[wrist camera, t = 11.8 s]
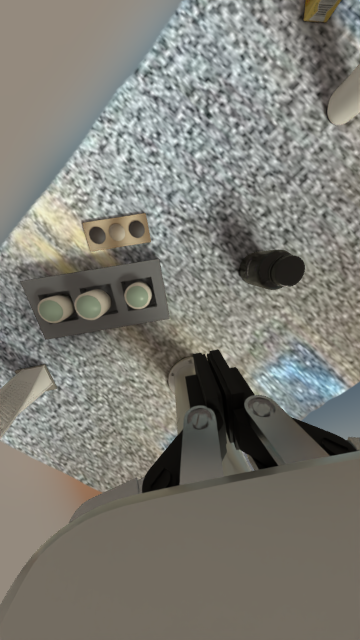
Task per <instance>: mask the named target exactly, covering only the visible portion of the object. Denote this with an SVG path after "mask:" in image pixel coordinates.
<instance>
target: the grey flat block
mask: <svg viewBox="0 0 360 640" xmlns="http://www.w3.org/2000/svg"><path fill="white" fill-rule="evenodd" d="M138 281H143V282H146V283H147V284H149V286H150V287H151V289H152V298H151V300H150V302H149V304H148V305H147V306H146V307H145V308H142V309H134V308H132V307H130V306H129V305H128V304H127V303H126V301H125V297H124V294H125V290H126V289H127V288H128V287H129V286H130V285H132V284H133V283H135V282H138ZM20 282H21V285H22V287H23V289H24V291H25V294H26V296H27V298H28V301H29V303H30V305H31V308H32V310H33V312H34V314H35V317H36V319H37V321H38V324H39V326H40V328H41V330H42V333H43V335H44V337H45V340H46V339H52V338H58V337H64V336H70V335H76V334H82V333H88V332H94V331H100V330H106V329H112V328H118V327H123V326H129V325H135V324H141V323H147V322H153V321H159V320H165V319H169V311H168V305H167V299H166V294H165V288H164V283H163V277H162V272H161V266H160V261H159V259H155V260H149V261H143V262H137V263H131V264H124V265H118V266H112V267H106V268H100V269H93V270H87V271H81V272H75V273H69V274H62V275H56V276H50V277H44V278H38V279H31V280H25V281H20ZM95 289H100V290H103V291H105V292H106V293H107V294H108V295H109V296H110V298H111V307H110V309H109V310H108V311H107V312H105V313H104V314H103V315H102V316H100V317H99V318H98V319H95V320H86V319H84V318H82V317H81V316H79V315H78V313H77V312H75V314H73V315H72V316H70V317H68V318H66V319H64V320H62V321H61V322H58V323H50V322H47V321H45V320H44V319H43V318H42V317H41V316H40V315H39V313H38V304H39V302H40V301H41V300H43V299H45V298H49V297H52V296H56V295H59V294H67V295H69V296H71V298H72V301H73V304H74V303H75V300H76V298H77V297H78V296H79V295H81V294H83V293H86V292H89V291H91V290H95Z"/></svg>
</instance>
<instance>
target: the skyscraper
mask: <svg viewBox="0 0 360 640" xmlns="http://www.w3.org/2000/svg"><path fill="white" fill-rule="evenodd" d="M15 373H16V374H17V375H15V376H14V377H13V378H12V379H11V380H10V381H9V382H7V383H6V384H5V385H4V386H3V387H2V388H1V389H0V438H1V437H2V436H3V435H4V433H5V432H6V431H7V429H8V428H9V427H10V425H11V424H12V423H13V421H14V420H15V418H16V417H17V415H18V414H19V413H21V412H22V411H23V410H24V409H25V408H26V407H28V406H29V405H30V404H31V403H32V402H33V401H35V400H36V399H37V398H38V397H39V396H40V395H41V394H43V393H44V392H45V391H49V390H54V389H57V386H56V384H55V382H54V381H53V379H52V377H51V375H50V373H49V371H48V369H47V367H46V365H45V364H43V365H39V366H34V367H29V368H24V369H20V370H16V371H15Z"/></svg>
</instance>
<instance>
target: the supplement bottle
mask: <svg viewBox="0 0 360 640" xmlns="http://www.w3.org/2000/svg"><path fill="white" fill-rule="evenodd" d="M304 270H305V265H304V262H303V260H301V258H299V257H297V256H293V255H291V254H290V253H289V252H287V251H285V250H268V251H258V252H253V253H250V254H249V255H247V256H246V257H245V258H244V259H243V261H242V263H241V265H240V275H241V277H242V279H243V280H244V281H245V282H246V283H248V284H251V285H255V286H258V287H262V288H265V289H269V290H276V289H280V288H282V287H290V286H293V285H295V284H296V283H298V282H299V281H300V280H301V278H302V276H303V275H304V272H305V271H304Z"/></svg>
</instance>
